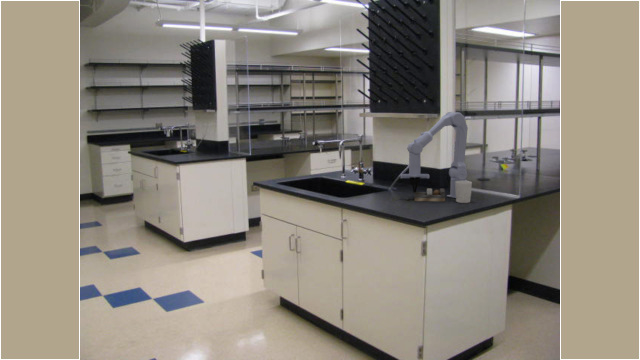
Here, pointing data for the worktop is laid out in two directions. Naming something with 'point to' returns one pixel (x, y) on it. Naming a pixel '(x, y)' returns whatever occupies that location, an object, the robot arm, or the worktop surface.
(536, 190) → the worktop surface
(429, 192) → the grey rectangular block
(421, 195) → the wooden shadow box
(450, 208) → the worktop surface
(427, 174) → the robot arm
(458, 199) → the white cup
